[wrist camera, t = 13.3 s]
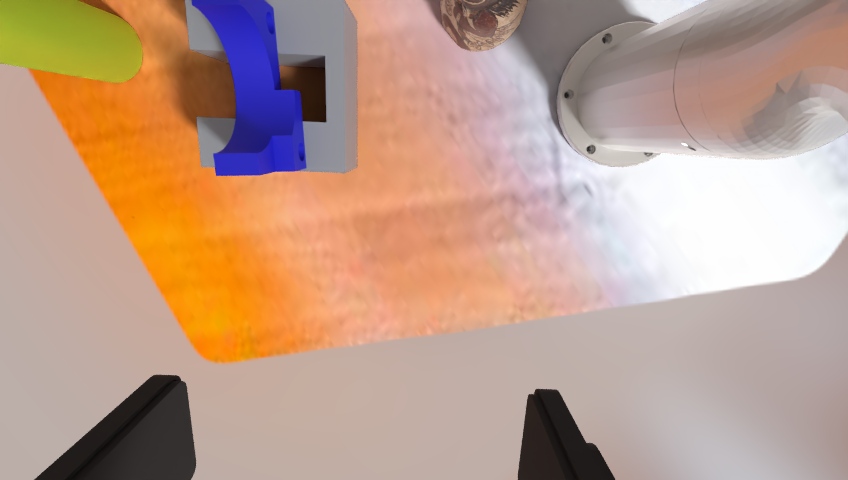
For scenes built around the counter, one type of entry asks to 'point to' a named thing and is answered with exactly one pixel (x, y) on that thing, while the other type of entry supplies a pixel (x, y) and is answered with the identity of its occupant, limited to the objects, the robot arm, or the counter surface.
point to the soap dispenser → (68, 39)
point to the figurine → (481, 21)
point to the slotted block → (304, 47)
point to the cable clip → (256, 92)
